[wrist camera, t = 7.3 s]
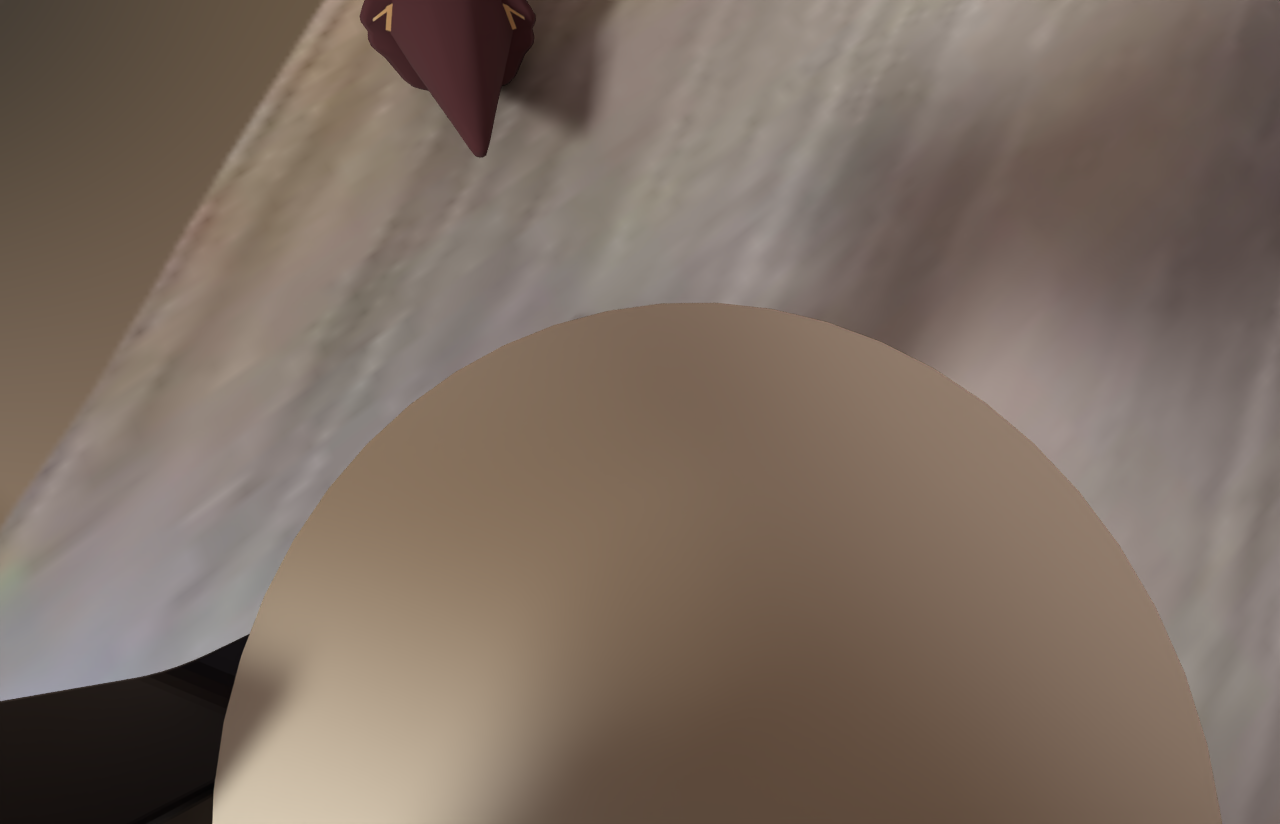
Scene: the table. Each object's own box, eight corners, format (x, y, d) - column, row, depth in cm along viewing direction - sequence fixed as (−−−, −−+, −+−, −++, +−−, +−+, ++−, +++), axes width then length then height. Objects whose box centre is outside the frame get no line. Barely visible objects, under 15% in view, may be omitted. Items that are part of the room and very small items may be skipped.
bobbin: (751, 737, 15) (1227, 1942, 2) (514, 644, 16) (-83, 1178, 3) (819, 491, 16) (1365, 414, 4) (597, 417, 17) (411, 141, 4)
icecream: (572, 70, 19) (497, -180, 23) (354, 78, 17) (314, -196, 21) (565, 202, 25) (507, -11, 29) (406, 218, 24) (368, -12, 28)
